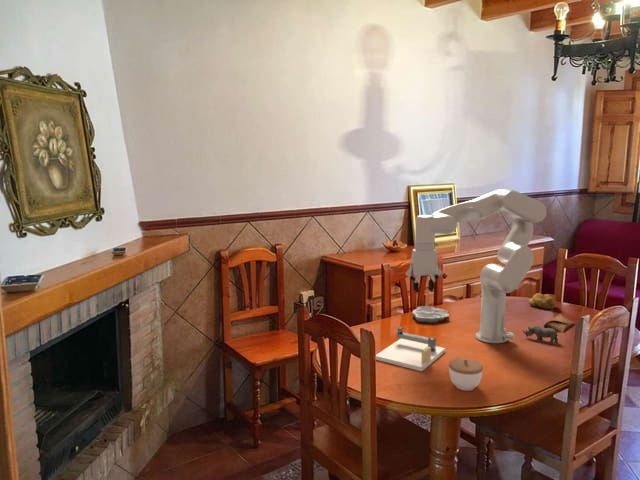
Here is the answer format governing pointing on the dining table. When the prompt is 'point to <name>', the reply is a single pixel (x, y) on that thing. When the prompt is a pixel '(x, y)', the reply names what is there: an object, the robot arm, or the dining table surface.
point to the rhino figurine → (542, 333)
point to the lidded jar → (465, 373)
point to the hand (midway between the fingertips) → (423, 290)
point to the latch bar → (417, 338)
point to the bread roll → (543, 301)
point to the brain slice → (429, 314)
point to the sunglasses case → (559, 324)
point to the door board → (410, 354)
